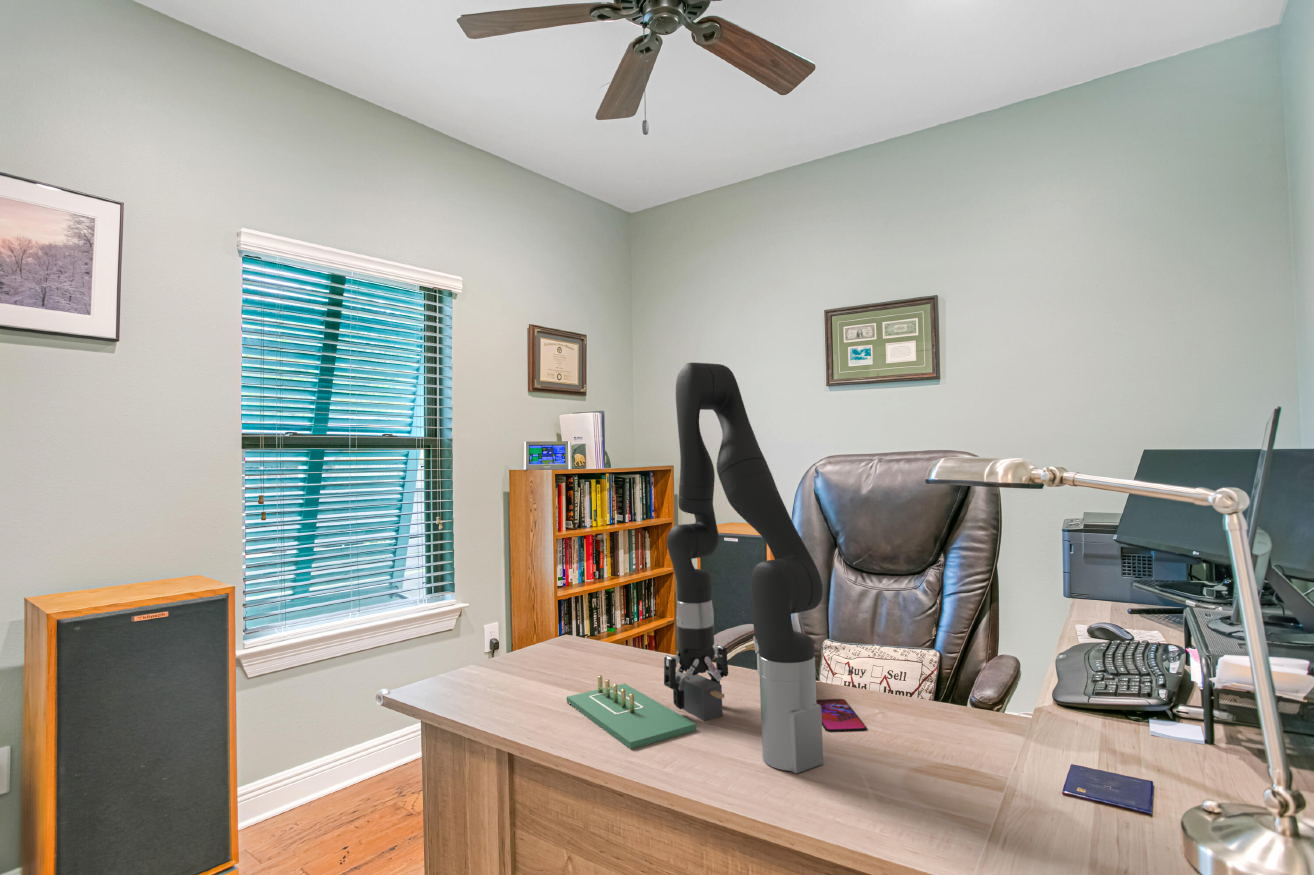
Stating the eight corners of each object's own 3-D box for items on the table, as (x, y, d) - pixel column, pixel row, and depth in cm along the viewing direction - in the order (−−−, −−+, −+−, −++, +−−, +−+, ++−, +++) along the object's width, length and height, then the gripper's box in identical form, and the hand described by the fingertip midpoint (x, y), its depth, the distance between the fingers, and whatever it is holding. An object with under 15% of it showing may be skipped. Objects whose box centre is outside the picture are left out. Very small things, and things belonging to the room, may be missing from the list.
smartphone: (826, 729, 121) (806, 699, 136) (826, 734, 121) (807, 703, 136) (868, 728, 121) (844, 698, 136) (868, 733, 121) (844, 702, 136)
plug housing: (731, 720, 128) (730, 689, 128) (713, 725, 126) (712, 693, 126) (692, 700, 139) (691, 671, 140) (675, 704, 137) (674, 675, 137)
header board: (696, 730, 124) (696, 723, 124) (630, 749, 117) (630, 741, 117) (624, 688, 148) (624, 682, 148) (566, 702, 140) (566, 696, 140)
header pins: (635, 712, 130) (635, 694, 130) (631, 713, 130) (630, 695, 130) (601, 691, 143) (601, 674, 143) (597, 692, 143) (596, 675, 143)
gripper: (675, 631, 128) (678, 717, 127) (734, 620, 135) (737, 701, 134) (655, 624, 134) (657, 705, 133) (712, 613, 141) (715, 690, 141)
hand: (697, 703), depth 134 cm, fingers open, 8 cm apart
